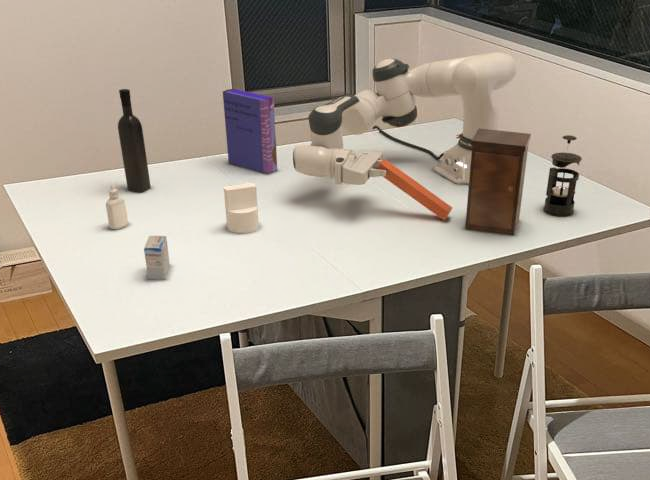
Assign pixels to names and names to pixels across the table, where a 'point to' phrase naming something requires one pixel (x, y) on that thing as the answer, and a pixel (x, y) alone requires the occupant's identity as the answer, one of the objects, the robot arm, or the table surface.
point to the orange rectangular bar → (415, 190)
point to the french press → (559, 196)
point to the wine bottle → (132, 147)
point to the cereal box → (250, 130)
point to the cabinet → (496, 180)
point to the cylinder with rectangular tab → (241, 208)
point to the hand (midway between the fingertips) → (389, 170)
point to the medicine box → (157, 257)
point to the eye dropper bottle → (116, 210)
